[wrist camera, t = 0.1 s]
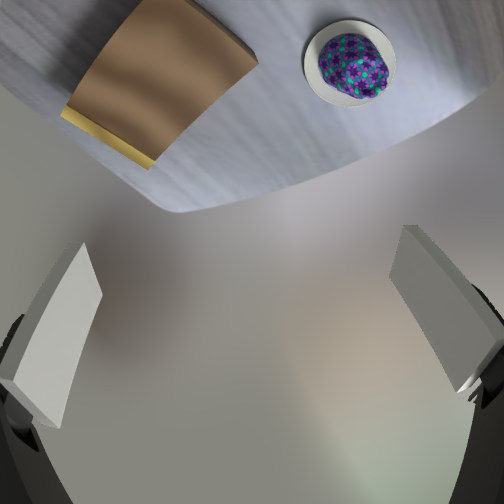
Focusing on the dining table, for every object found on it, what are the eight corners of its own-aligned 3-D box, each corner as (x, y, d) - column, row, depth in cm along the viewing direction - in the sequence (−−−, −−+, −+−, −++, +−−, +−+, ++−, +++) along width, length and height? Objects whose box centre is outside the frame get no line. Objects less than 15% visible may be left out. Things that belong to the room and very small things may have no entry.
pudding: (281, 54, 29) (290, 66, 26) (362, 2, 23) (383, 9, 20) (337, 120, 37) (349, 140, 33) (407, 76, 31) (427, 93, 28)
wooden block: (168, -18, 20) (158, -18, 17) (254, 52, 28) (259, 64, 25) (76, 97, 29) (59, 116, 26) (153, 147, 37) (146, 171, 34)
